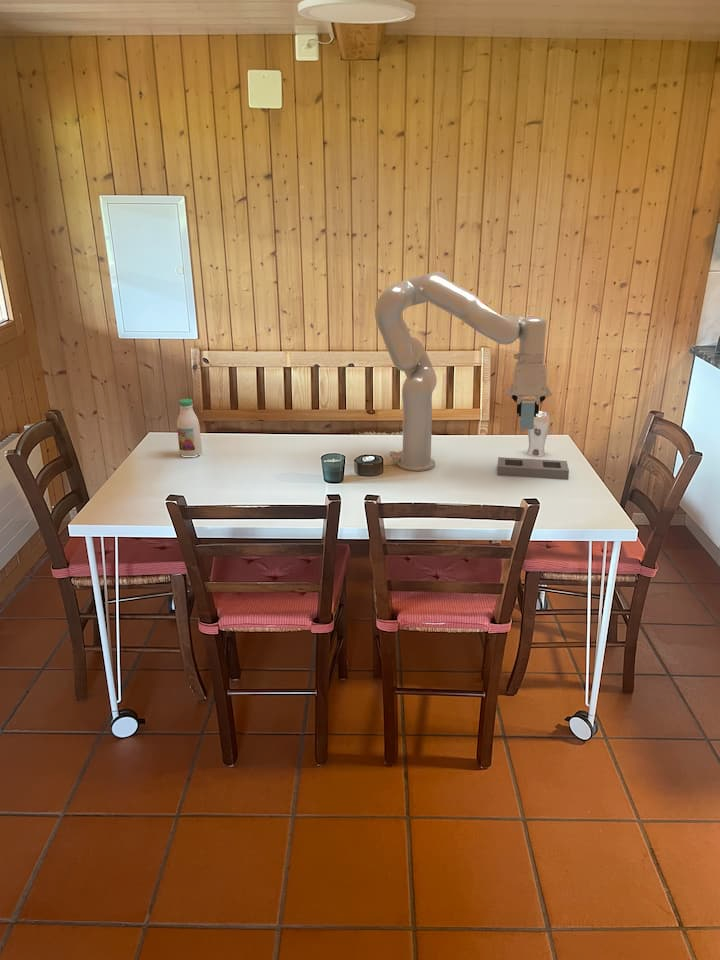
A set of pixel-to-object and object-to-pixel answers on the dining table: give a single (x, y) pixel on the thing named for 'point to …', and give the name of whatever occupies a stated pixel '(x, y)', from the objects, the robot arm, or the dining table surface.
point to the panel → (533, 468)
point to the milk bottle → (188, 430)
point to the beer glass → (538, 434)
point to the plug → (527, 413)
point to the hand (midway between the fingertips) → (527, 415)
